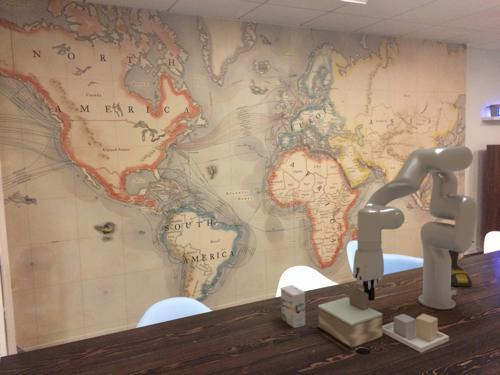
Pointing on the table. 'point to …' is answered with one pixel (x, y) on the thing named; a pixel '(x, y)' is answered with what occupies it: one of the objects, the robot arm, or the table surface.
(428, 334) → the sandstone block
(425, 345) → the white tray
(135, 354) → the table surface
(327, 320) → the birch box
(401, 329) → the granite block
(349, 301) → the sage lid
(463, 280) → the power drill
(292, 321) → the ink box
